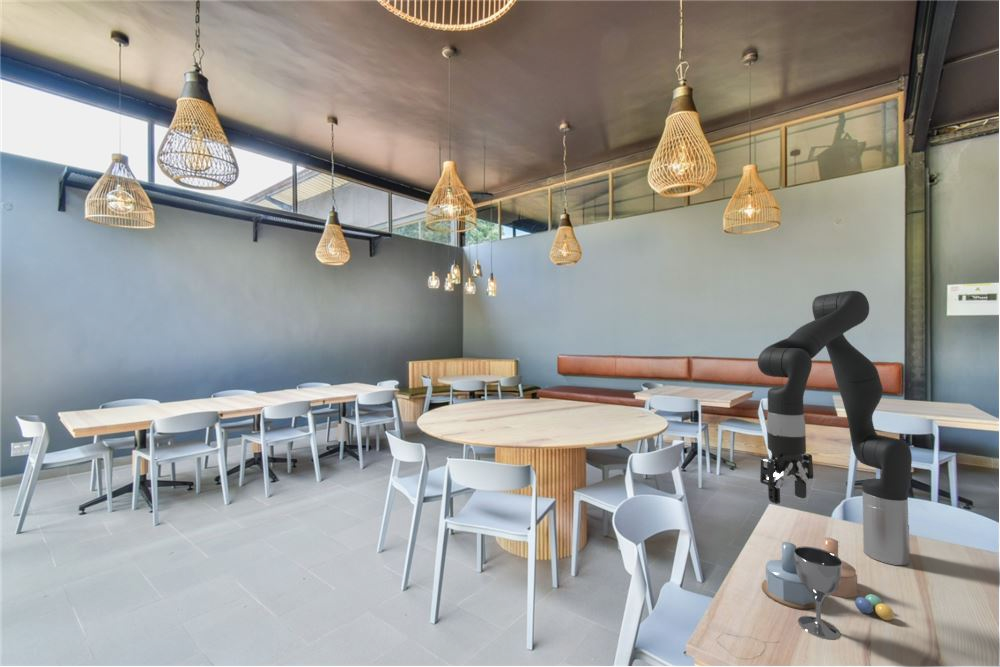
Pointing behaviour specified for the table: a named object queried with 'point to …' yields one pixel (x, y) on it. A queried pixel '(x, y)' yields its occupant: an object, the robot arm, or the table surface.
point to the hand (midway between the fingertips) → (787, 499)
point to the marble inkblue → (864, 605)
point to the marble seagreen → (874, 600)
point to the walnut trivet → (786, 603)
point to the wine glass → (818, 586)
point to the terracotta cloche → (843, 572)
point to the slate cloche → (786, 578)
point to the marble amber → (884, 611)
